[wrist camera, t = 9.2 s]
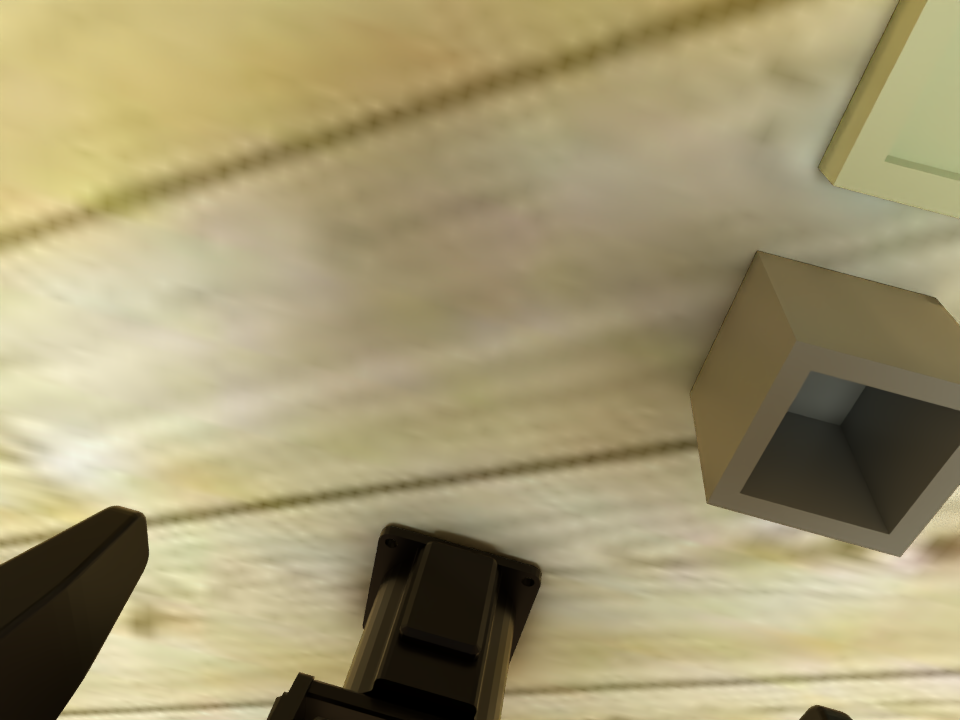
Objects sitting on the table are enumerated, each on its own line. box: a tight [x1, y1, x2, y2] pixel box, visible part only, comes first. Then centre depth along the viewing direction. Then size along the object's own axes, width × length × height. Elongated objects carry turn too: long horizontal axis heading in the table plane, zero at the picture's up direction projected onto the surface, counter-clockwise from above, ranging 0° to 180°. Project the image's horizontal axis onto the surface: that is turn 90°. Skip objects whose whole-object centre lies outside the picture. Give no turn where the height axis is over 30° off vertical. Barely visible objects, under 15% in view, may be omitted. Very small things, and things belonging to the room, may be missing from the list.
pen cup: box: [690, 251, 960, 557], centre depth 18 cm, size 5×5×5 cm
